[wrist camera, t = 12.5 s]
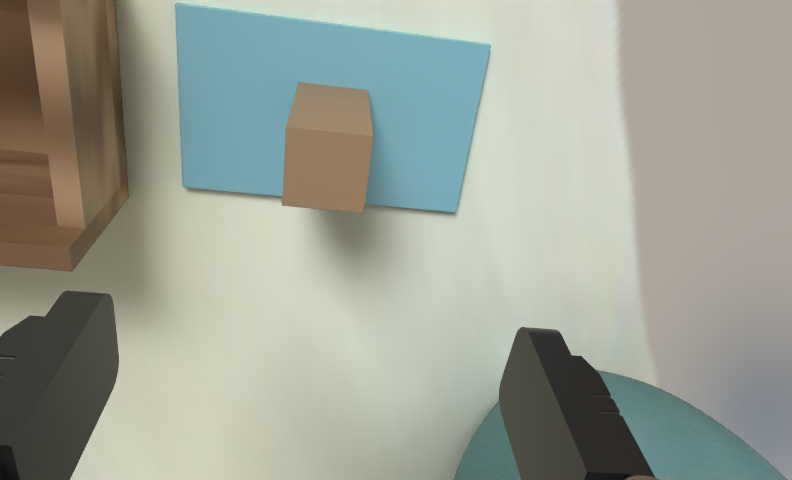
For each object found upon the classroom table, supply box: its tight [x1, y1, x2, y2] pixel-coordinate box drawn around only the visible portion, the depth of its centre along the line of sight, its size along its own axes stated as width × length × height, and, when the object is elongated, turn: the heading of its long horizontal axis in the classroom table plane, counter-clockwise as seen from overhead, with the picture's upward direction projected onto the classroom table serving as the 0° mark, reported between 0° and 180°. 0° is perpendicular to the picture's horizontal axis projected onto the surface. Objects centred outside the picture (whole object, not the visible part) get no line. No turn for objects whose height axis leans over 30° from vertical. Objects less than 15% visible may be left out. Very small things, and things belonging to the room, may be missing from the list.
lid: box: [175, 3, 491, 213], centre depth 24 cm, size 8×13×7 cm, turn 82°
